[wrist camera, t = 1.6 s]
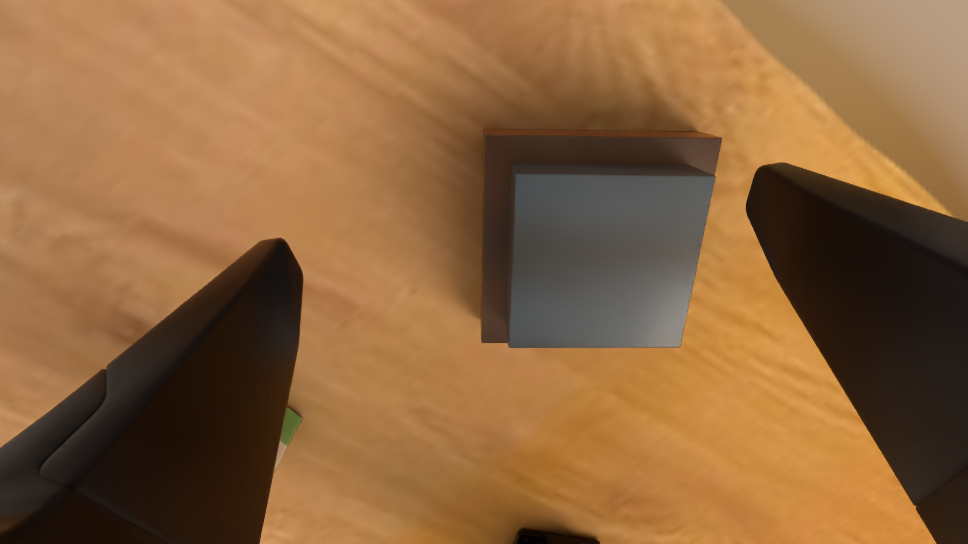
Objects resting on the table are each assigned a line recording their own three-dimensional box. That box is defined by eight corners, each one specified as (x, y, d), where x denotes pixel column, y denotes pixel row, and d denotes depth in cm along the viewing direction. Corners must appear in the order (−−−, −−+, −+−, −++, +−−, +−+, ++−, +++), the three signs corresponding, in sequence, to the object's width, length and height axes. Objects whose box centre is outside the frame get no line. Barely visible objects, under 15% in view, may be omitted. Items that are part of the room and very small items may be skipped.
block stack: (663, 320, 28) (700, 369, 24) (480, 320, 28) (482, 370, 23) (698, 131, 24) (752, 145, 19) (483, 128, 24) (486, 142, 19)
